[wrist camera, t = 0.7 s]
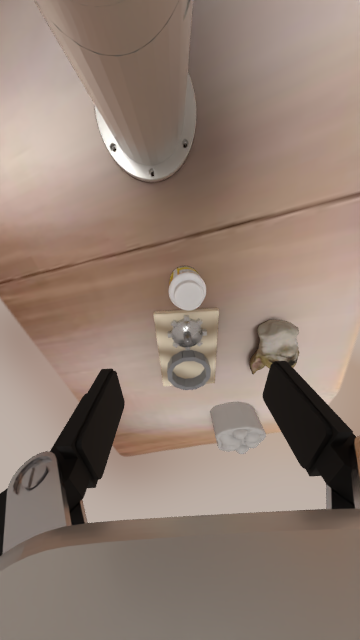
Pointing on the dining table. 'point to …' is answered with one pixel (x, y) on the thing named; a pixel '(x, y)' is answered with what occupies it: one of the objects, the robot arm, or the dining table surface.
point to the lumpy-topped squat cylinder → (236, 427)
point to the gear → (187, 332)
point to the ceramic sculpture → (275, 344)
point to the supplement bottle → (186, 288)
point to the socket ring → (190, 382)
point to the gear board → (168, 350)
